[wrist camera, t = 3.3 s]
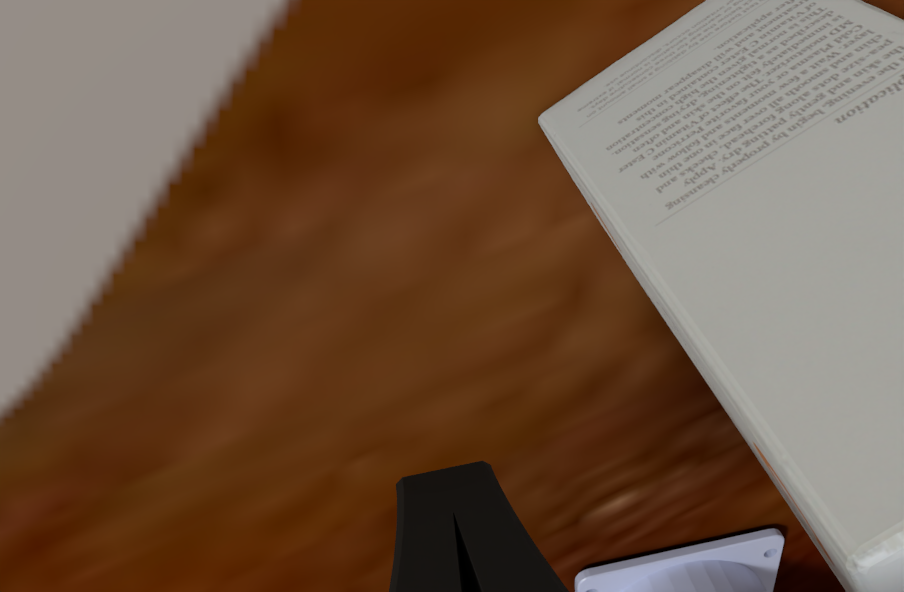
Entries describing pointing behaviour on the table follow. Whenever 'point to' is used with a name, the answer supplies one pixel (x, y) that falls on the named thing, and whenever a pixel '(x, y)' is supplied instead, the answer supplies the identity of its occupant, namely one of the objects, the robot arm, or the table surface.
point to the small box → (772, 240)
